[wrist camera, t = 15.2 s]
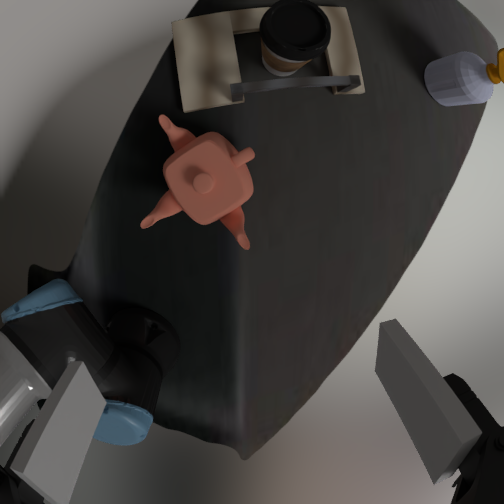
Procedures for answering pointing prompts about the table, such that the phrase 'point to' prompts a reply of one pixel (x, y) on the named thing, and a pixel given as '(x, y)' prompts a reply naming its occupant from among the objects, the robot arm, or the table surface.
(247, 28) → the cream rectangular frame
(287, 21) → the coffee cup
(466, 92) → the spray bottle
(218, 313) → the table surface
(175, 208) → the teapot
